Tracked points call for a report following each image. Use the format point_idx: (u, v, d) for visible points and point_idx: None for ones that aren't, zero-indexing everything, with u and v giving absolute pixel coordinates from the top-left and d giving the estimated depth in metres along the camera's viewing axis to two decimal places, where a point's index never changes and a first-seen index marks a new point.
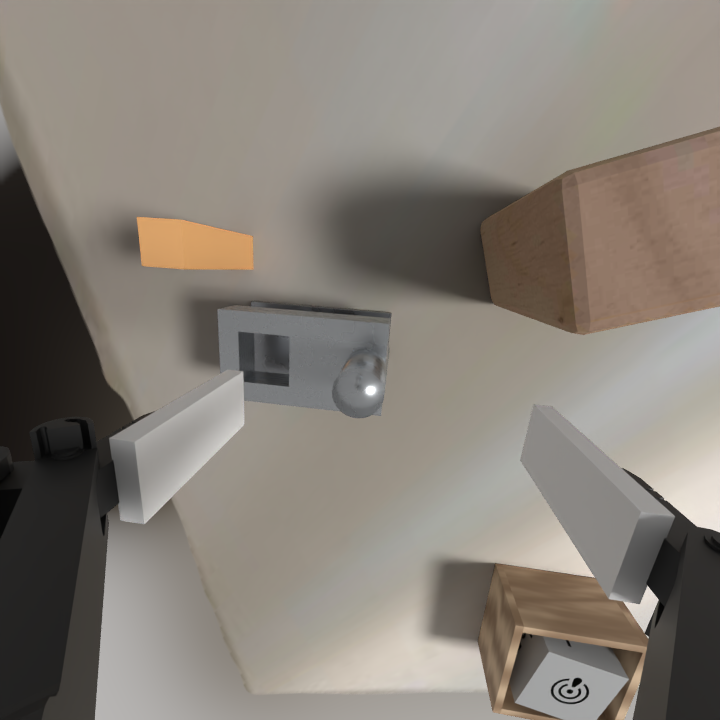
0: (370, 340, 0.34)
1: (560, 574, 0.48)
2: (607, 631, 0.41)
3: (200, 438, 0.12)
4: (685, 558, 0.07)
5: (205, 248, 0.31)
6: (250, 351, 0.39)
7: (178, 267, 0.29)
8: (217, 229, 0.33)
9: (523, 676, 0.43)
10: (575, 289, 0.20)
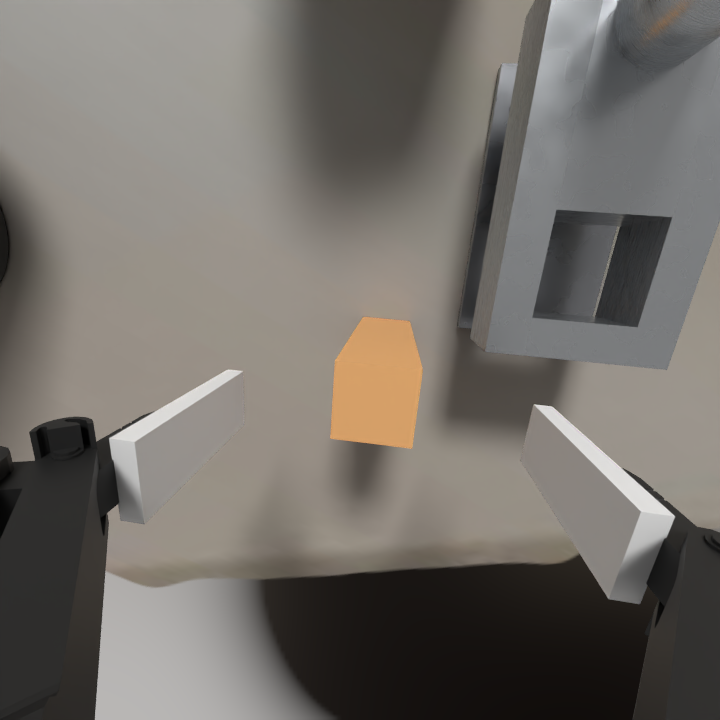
0: (594, 2, 0.15)
1: None
2: None
3: (200, 438, 0.12)
4: (685, 558, 0.07)
5: (382, 347, 0.18)
6: (560, 315, 0.21)
7: (418, 381, 0.15)
8: (353, 336, 0.21)
9: None
10: None
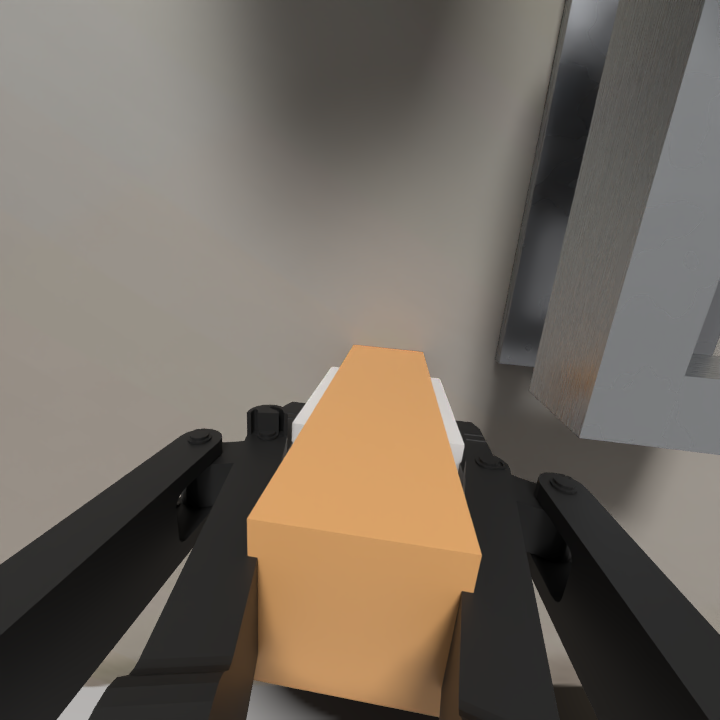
0: None
1: None
2: None
3: None
4: (465, 480, 0.09)
5: (377, 437, 0.09)
6: (702, 359, 0.12)
7: (469, 581, 0.06)
8: (325, 398, 0.11)
9: None
10: None
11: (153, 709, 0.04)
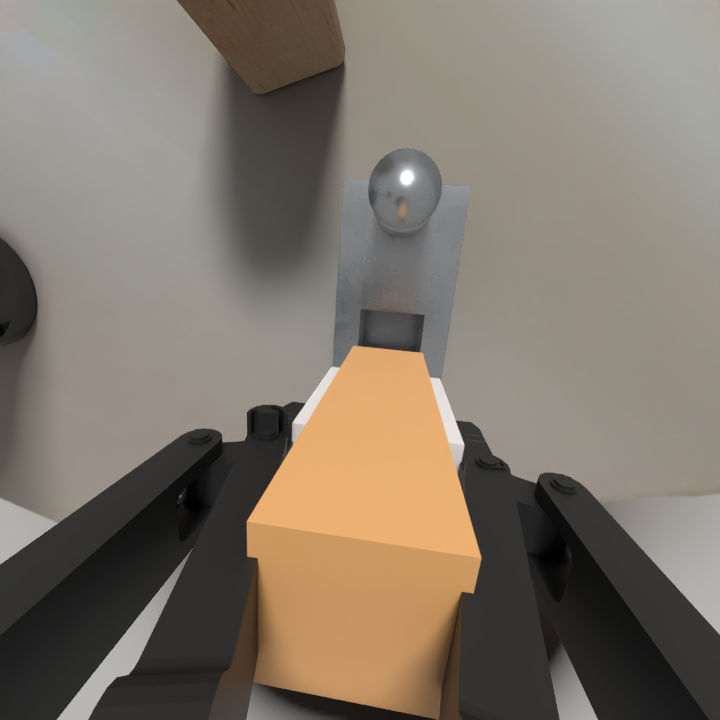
0: (364, 204, 0.27)
1: None
2: None
3: None
4: (465, 480, 0.09)
5: (377, 439, 0.09)
6: None
7: (468, 584, 0.06)
8: (325, 399, 0.11)
9: None
10: None
11: (153, 709, 0.04)
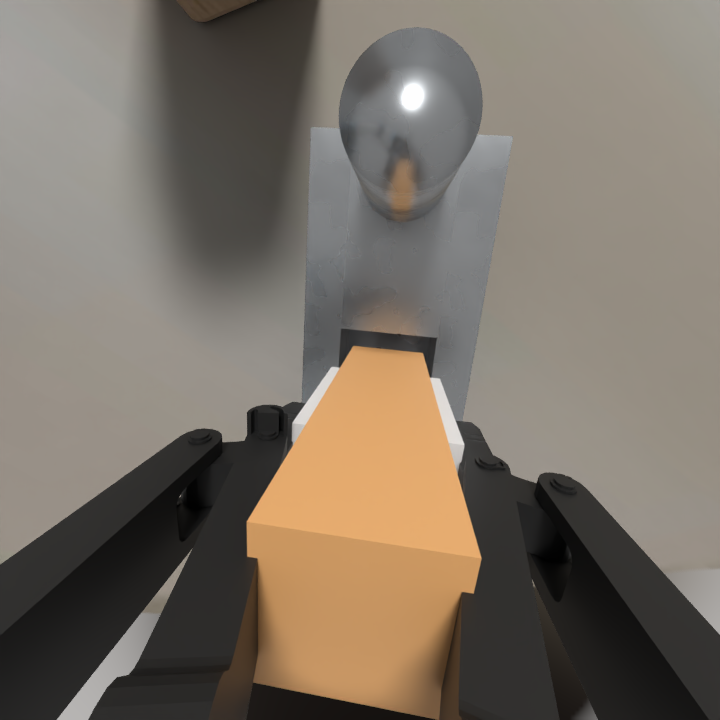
0: (344, 167, 0.17)
1: None
2: None
3: None
4: (465, 480, 0.09)
5: (377, 439, 0.09)
6: None
7: (468, 584, 0.06)
8: (325, 399, 0.11)
9: None
10: None
11: (153, 709, 0.04)
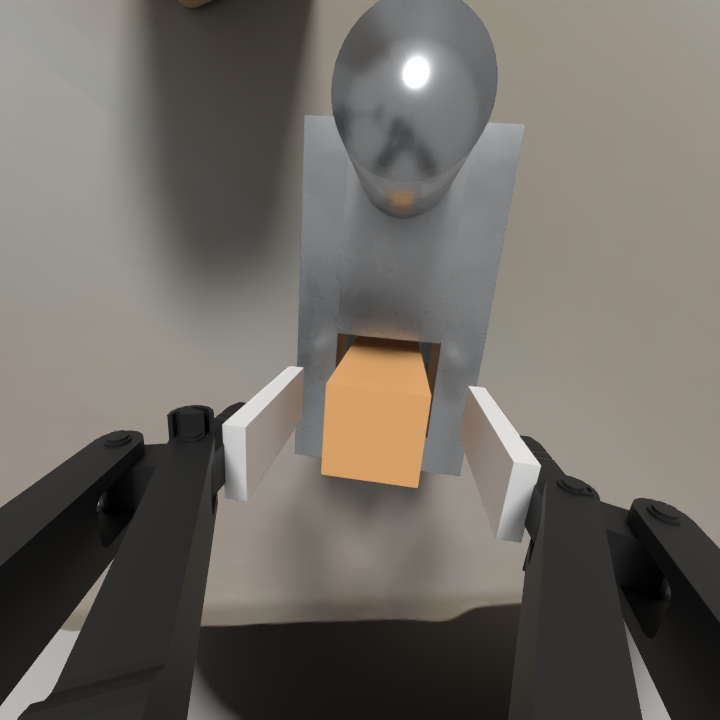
0: (341, 159, 0.16)
1: None
2: None
3: (278, 427, 0.13)
4: (545, 502, 0.08)
5: (384, 365, 0.16)
6: None
7: (426, 410, 0.12)
8: (351, 349, 0.18)
9: None
10: None
11: None
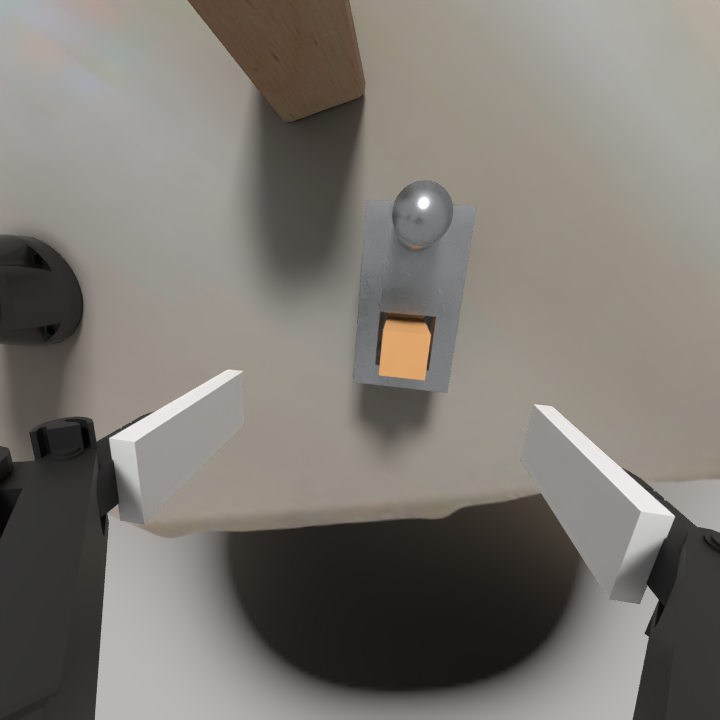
0: (384, 221, 0.31)
1: None
2: None
3: (200, 438, 0.12)
4: (685, 558, 0.07)
5: (407, 326, 0.31)
6: None
7: (428, 341, 0.28)
8: (387, 320, 0.33)
9: None
10: None
11: None
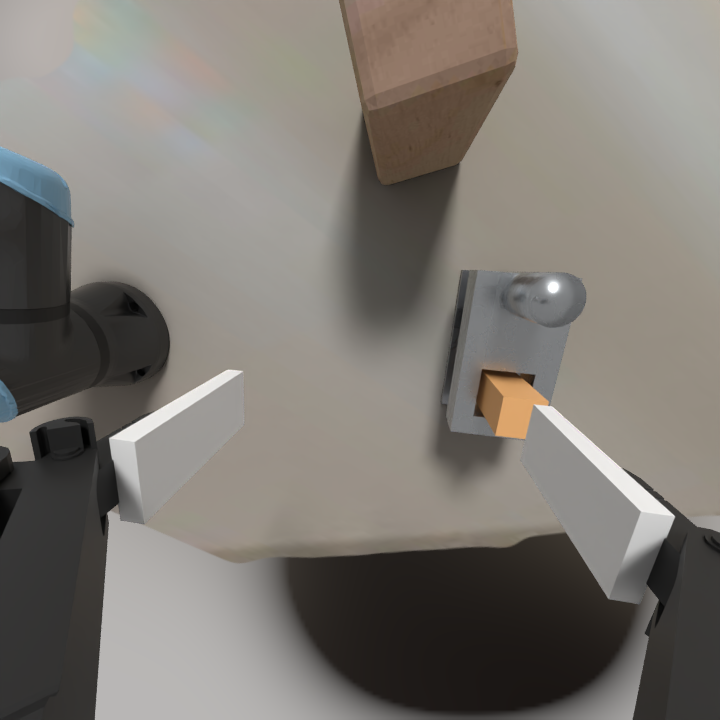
0: (493, 289, 0.34)
1: None
2: None
3: (200, 438, 0.12)
4: (685, 558, 0.07)
5: (514, 386, 0.34)
6: None
7: None
8: (488, 377, 0.36)
9: None
10: (469, 73, 0.20)
11: None
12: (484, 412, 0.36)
